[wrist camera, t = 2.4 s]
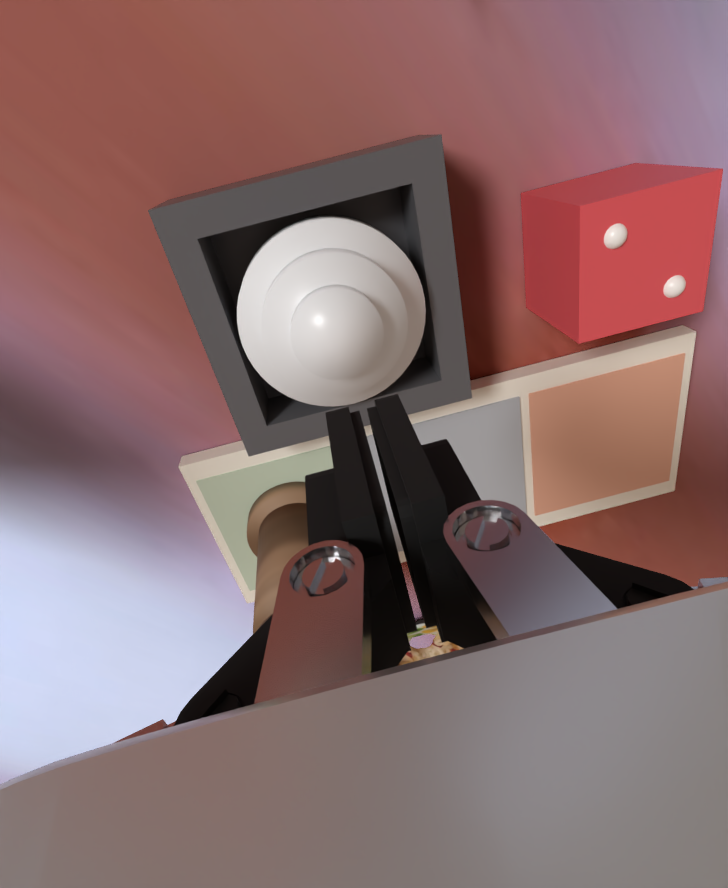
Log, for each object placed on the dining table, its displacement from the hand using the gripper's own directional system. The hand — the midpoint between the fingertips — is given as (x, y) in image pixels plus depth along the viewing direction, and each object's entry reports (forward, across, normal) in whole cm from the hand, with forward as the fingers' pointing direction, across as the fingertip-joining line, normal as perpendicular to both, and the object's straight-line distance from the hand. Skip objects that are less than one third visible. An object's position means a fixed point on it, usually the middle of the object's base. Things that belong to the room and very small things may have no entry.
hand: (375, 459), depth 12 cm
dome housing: (+13, 0, -1) cm, 13 cm away
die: (+13, -11, 0) cm, 17 cm away
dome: (+10, 0, -1) cm, 10 cm away
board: (+13, -4, +10) cm, 17 cm away
